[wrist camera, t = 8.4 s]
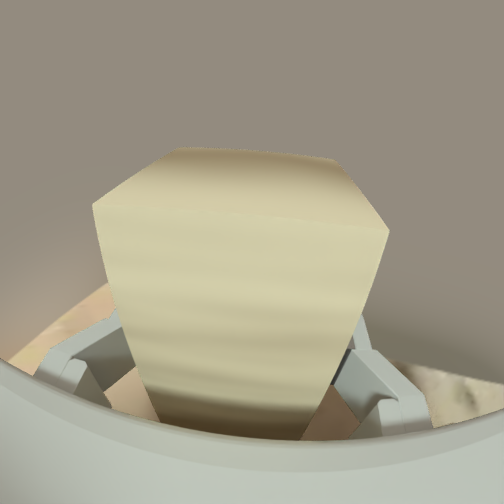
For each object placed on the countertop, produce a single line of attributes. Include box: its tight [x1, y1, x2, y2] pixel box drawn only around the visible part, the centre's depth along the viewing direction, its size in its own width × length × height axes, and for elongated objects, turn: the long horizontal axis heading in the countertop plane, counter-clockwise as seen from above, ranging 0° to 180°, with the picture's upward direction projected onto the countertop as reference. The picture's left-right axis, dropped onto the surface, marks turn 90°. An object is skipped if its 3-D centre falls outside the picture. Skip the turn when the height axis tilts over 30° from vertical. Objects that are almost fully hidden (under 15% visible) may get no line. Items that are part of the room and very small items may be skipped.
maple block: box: [92, 147, 389, 441], centre depth 9 cm, size 4×4×12 cm
